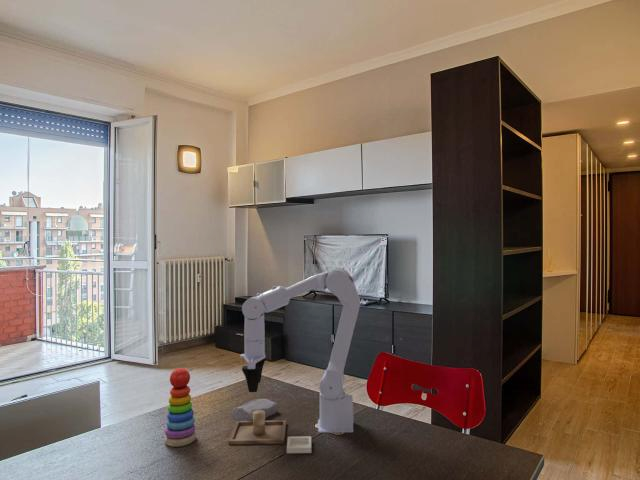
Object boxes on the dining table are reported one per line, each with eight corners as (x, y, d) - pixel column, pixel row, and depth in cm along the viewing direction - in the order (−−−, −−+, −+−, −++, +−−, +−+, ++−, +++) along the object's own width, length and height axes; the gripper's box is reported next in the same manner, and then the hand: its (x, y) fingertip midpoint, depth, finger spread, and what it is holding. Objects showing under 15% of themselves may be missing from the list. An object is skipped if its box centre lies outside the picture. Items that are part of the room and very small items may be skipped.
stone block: (229, 425, 126) (253, 426, 121) (227, 408, 127) (251, 408, 121) (256, 413, 136) (281, 413, 130) (255, 397, 137) (278, 397, 131)
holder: (311, 442, 111) (311, 436, 111) (311, 454, 105) (311, 447, 105) (287, 442, 111) (287, 436, 111) (286, 454, 105) (286, 447, 105)
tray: (286, 424, 122) (286, 420, 122) (283, 444, 110) (283, 440, 110) (236, 425, 122) (236, 420, 122) (228, 445, 110) (228, 440, 110)
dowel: (265, 430, 117) (265, 410, 117) (264, 435, 114) (264, 414, 114) (254, 430, 117) (253, 410, 117) (252, 435, 114) (252, 415, 114)
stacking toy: (202, 437, 114) (202, 366, 114) (181, 450, 107) (181, 375, 107) (179, 431, 117) (179, 363, 117) (157, 444, 110) (157, 371, 110)
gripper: (244, 333, 130) (244, 378, 130) (236, 345, 115) (236, 396, 115) (267, 333, 130) (267, 378, 130) (262, 345, 115) (262, 396, 115)
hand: (254, 387), depth 123 cm, fingers open, 7 cm apart
